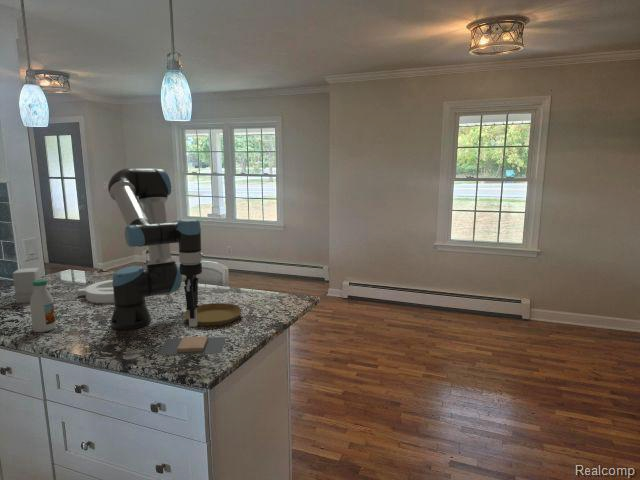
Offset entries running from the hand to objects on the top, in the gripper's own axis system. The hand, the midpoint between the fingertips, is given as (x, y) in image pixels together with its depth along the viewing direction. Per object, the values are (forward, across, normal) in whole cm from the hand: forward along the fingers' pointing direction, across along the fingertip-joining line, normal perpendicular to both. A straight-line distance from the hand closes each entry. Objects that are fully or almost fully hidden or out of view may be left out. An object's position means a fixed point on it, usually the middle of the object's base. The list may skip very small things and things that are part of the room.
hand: (193, 325), depth 151 cm
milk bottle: (+8, +20, +62) cm, 65 cm away
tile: (+6, +3, 0) cm, 7 cm away
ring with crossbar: (+8, +65, +51) cm, 83 cm away
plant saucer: (+8, +28, -3) cm, 29 cm away
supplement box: (+8, +59, +89) cm, 107 cm away
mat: (+7, -2, 0) cm, 8 cm away
